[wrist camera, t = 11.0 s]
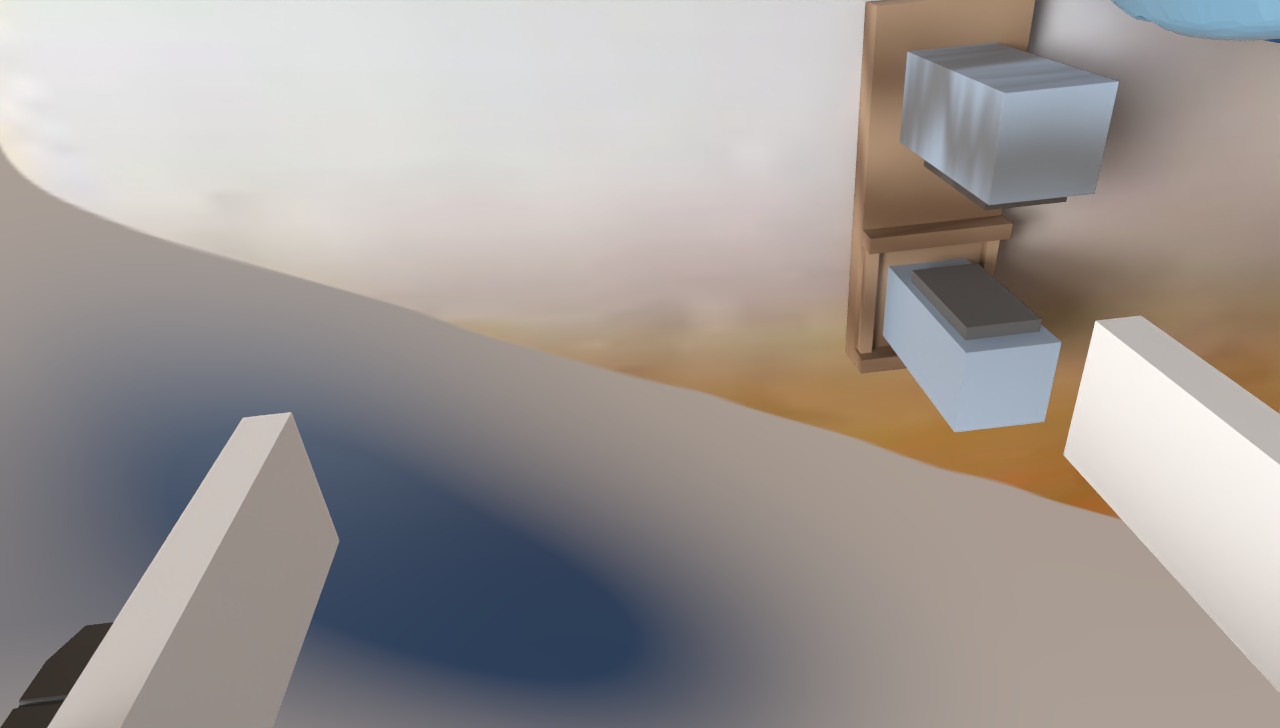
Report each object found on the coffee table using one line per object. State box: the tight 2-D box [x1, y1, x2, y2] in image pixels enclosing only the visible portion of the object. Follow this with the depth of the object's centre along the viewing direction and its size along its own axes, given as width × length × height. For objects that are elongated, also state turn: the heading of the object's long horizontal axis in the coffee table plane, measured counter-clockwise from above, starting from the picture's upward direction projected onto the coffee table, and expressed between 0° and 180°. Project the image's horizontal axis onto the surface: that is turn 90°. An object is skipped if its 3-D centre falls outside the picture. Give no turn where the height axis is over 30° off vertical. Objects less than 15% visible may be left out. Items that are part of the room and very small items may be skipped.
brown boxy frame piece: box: [845, 0, 1119, 373], centre depth 35 cm, size 18×7×10 cm, turn 5°
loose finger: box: [883, 258, 1061, 432], centre depth 37 cm, size 5×4×9 cm
